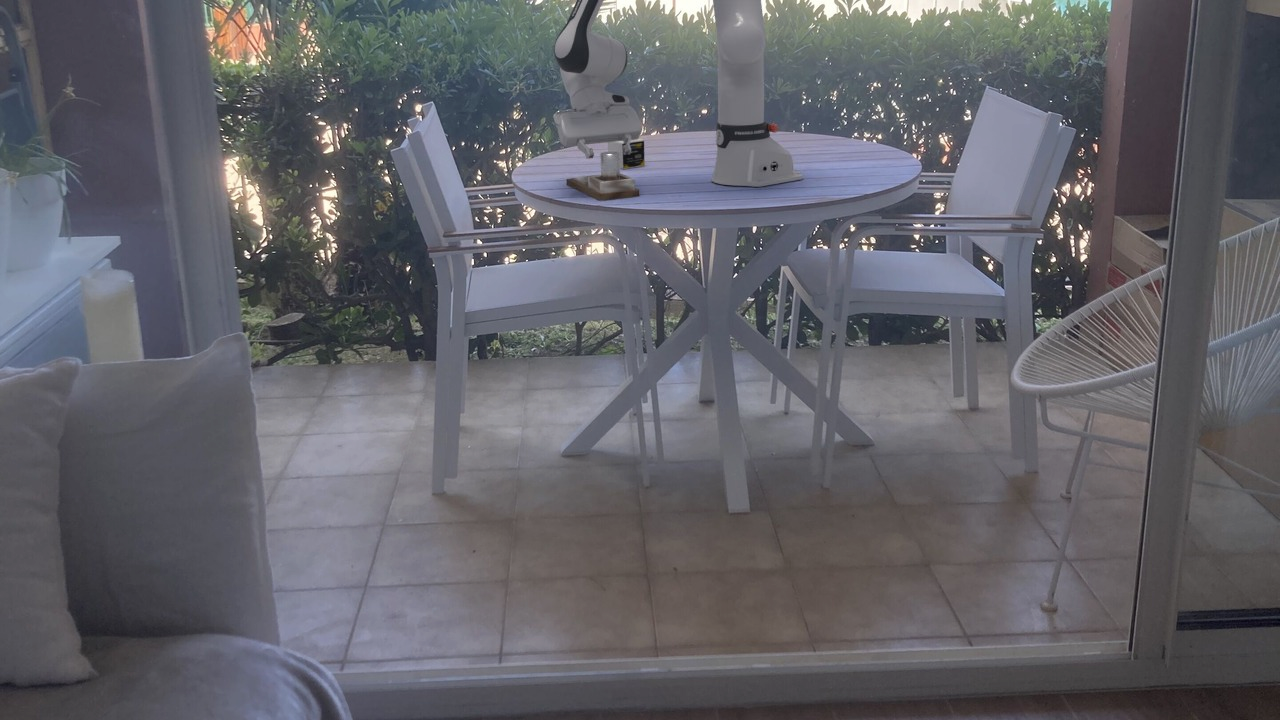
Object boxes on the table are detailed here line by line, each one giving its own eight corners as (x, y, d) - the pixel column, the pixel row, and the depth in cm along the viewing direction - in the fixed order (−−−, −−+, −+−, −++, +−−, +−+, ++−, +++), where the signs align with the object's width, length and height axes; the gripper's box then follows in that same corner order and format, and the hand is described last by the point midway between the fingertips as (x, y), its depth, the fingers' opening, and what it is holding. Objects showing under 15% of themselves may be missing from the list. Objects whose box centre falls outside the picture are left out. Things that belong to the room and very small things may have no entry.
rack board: (604, 180, 285) (603, 164, 283) (639, 196, 266) (639, 179, 264) (566, 184, 281) (565, 168, 280) (599, 200, 262) (599, 183, 261)
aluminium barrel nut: (616, 184, 270) (614, 150, 267) (623, 187, 266) (622, 153, 263) (598, 186, 268) (597, 152, 266) (605, 189, 265) (604, 155, 262)
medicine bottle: (623, 169, 299) (622, 123, 295) (607, 166, 304) (606, 120, 300) (645, 166, 303) (644, 120, 298) (629, 162, 308) (628, 118, 304)
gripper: (553, 102, 264) (570, 150, 259) (634, 96, 272) (652, 142, 267) (548, 120, 269) (564, 167, 264) (627, 112, 277) (644, 158, 272)
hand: (609, 154), depth 266 cm, fingers open, 8 cm apart
